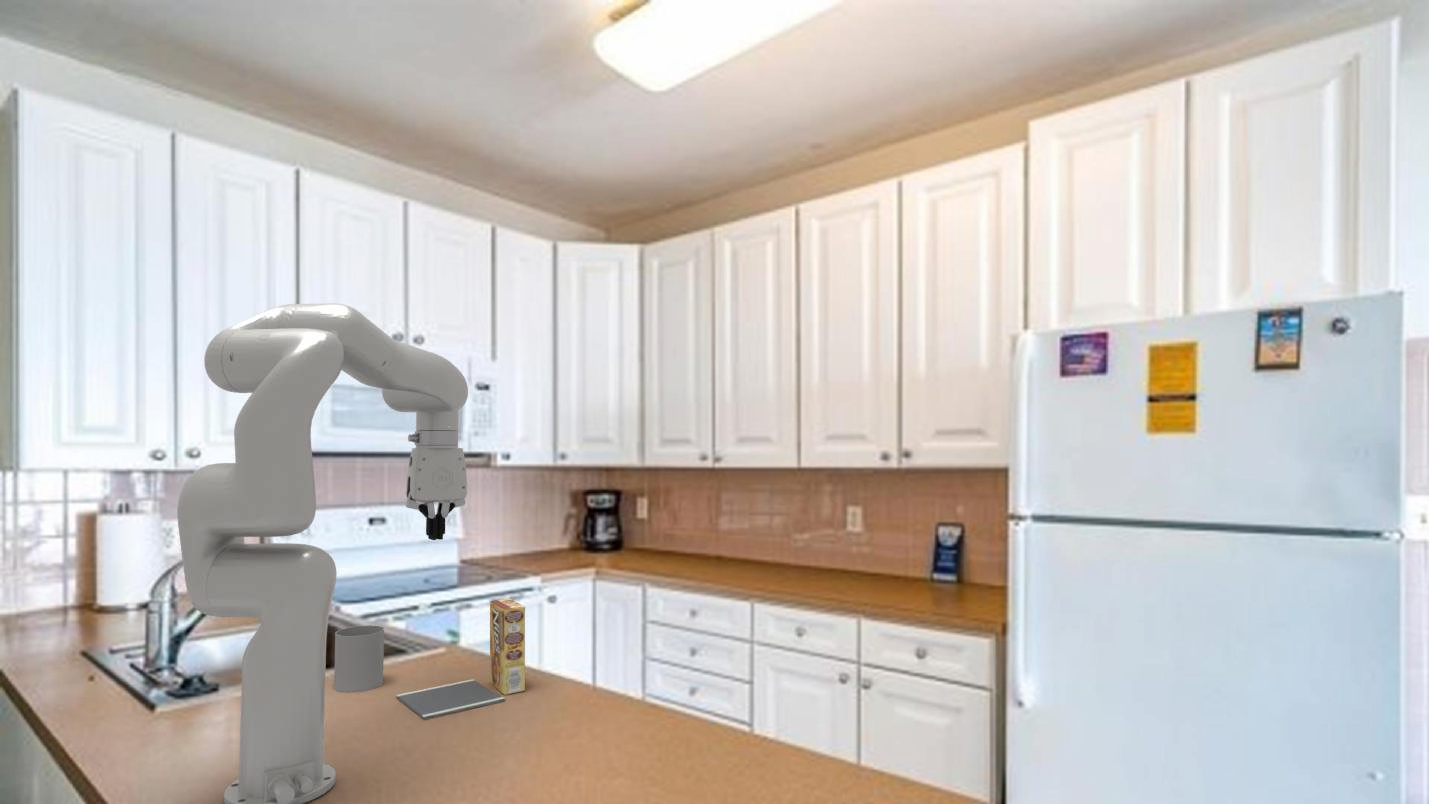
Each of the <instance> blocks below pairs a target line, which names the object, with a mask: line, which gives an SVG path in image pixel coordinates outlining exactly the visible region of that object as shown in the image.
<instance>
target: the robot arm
mask: <svg viewBox="0 0 1429 804" xmlns="http://www.w3.org/2000/svg"><path fill="white" fill-rule="evenodd" d="M203 362H204V368H205V372H206V375H207V376H208V378H209V379H210V381H211V382H212V383H214V385H215V386H217V387H218V388H219V389H221V390H223V391H227V392H229V393H235V394H236V393H238V394H250V396H249V397H248V398H247V400H246V401H245V402H244V404H243V406H242V407H241V409H240V411H239V413H238V415H237V417H236V420H235V424H234V428H233V432H234V433H233V438H234V439H233V440H234V457H235V459H234V460H235V461H234V462H219V463H213V464H207V465H204V466H202V467H200V468H198V469H197V470H195V471H194V472H193V473H191V474H190V475H189V477H188V478H187V479H186V480H185V482H184V484H183V485H182V488H181V491H180V493H179V498H178V500H177V501H178V502H177V526H178V536H179V541H180V544H179V545H180V552H181V559H182V566H183V573H184V574H183V575H184V581H185V587H186V591H187V595H188V598H189V601H190V602H191V604H192V605H193V607H194V608H195V610H197V611H198V612H199V613H201V614H203V615H206V616H210V617H217V618H248V619H249V618H252V619H259V620H261V623H260V625H259V626H258V629H257V630H256V632H255V633H254V634H253V636H252V637H251V638H250V640H249V641H248V643H247V644H246V647H245V650H244V652H243V656H242V661H241V692H240V693H241V696H240V697H241V699H240V728H239V734H240V735H239V758H238V759H239V761H238V762H239V763H238V778H237V779H236V780H235V781H233V782H232V783H231V784H229V785H228V786H227V787H226V789H225V790H224V792H223V804H306V803H308V802H311V801H313V800H316V799H317V798H319V797H321V796H323V795H324V794H326V793H327V792H328V791H329V790H331V788H333V787H334V786H335V783H336V781H337V778H336V777H337V776H336V775H337V772H336V770H335V768H334V767H332V766H331V765H329V764H326V763H324V742H325V741H324V740H325V709H326V708H325V707H326V706H325V705H326V700H325V699H326V671H327V670H326V669H327V668H326V665H327V662H326V659H327V658H326V656H327V633H328V624H329V617H330V613H331V607H332V602H333V597H334V593H335V589H336V583H337V574H338V573H337V566H336V563H335V561H334V559H333V557H332V556H331V554H329V553H328V552H327V551H326V550H324V549H322V548H320V547H318V546H314V545H310V544H306V543H304V544H303V543H291V542H289V543H288V542H287V543H286V542H285V543H283V542H282V543H281V542H279V543H276V542H274V543H273V542H268V543H266V542H265V543H245V538H275V537H276V538H278V537H280V538H281V537H290V536H293V535H298V534H300V533H302V532H304V531H306V530H307V529H309V528H310V526H311V525H312V523H313V522H314V520H315V517H316V512H317V511H316V510H317V493H316V482H315V481H316V480H315V471H314V460H313V452H312V451H313V450H312V438H311V435H312V434H311V433H312V432H311V431H312V430H311V429H312V422H313V419H314V416H315V413H316V411H317V409H318V406H319V404H320V402H321V401H322V399H323V398H324V396H325V395H326V393H328V391H329V389H330V388H331V387H332V385H333V384H334V383H335V382H336V380H337V379H338V378H339V376H340V374H341V372H344V373H345V374H347V375H349V376H350V377H352V378H353V379H355V380H356V381H357V382H359V383H361V384H362V385H365V386H369V387H371V388H376V389H377V388H378V389H381V394H382V399H383V400H384V402H385V404H386V405H387V406H388V407H389V408H390V409H392V410H394V411H396V412H400V413H416V414H415V416H416V418H415V431H414V433H412V434H408V435H407V441H408V442H411V443H413V444H414V446H415V448H414V447H413V448H411V452H410V455H409V462H408V466H407V473H406V474H407V475H406V487H405V488H406V490H405V493H406V498H407V499H406V503H405V507H406V508H407V509H412V510H416V511H419V512H420V514H422V516H423V517H424V518H426V519H425V521H426V522H425V533H426V536H427V538H428V539H429V540H432V541H436V540H443V539H444V535H445V534H446V519H447V518H448V516H449V514H450V513H451V512H452V511H453V510H454V509H455V508H456V509H457V508H459V507H463V506H465V505H466V498H467V495H468V477H467V465H466V458H465V453H464V448H463V447H459V415H460V414H459V413H460V412H459V411H460V409H462V408H463V407H464V406H465V404H466V402H467V400H468V396H469V387H468V383H467V380H466V377H465V376H464V374H463V373H462V372H461V371H460V369H459V368H458V367H457V366H456V365H454V364H453V363H452V362H451V361H450V360H449V359H447V358H445V357H443V356H442V355H439V354H436V353H434V352H431V351H428V350H425V349H422V348H419V347H416V346H413V345H410V344H408V343H404V342H401V341H398V340H394V339H393V338H392V337H391V336H390V335H388V334H387V333H386V332H384V331H383V330H382V329H381V328H379V326H377V325H376V324H375V323H373V322H372V321H371V320H370V319H368V318H367V317H366V316H365V315H364V314H362V313H361V312H360V311H358V309H356V308H354V307H352V306H349V305H347V304H343V303H342V304H341V303H335V302H334V303H331V302H327V303H290V304H288V303H287V304H282V305H278V306H275V307H272V308H269V309H267V310H264V311H263V312H260V313H257V314H256V315H253V316H251V317H249V318H247V319H245V320H243V321H241V322H238V323H236V324H233V325H232V326H229V327H227V328H225V329H223V330H221V331H220V332H219V333H217V334H216V335H215V336H214V337H213V338H212V339H211V341H210V342H209V343H208V345H207V347H206V350H205V353H204V361H203ZM436 502H437V509H436V511H435V503H436Z"/></svg>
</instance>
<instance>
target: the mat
mask: <svg viewBox="0 0 1429 804" xmlns="http://www.w3.org/2000/svg"><path fill="white" fill-rule="evenodd" d="M395 695H396V696H395V698H396V699H397V700H398V701H399V702H400V703H402V704H403V705H404V706H405V707H407V708H409V710H411V711H412V712H413V713H414V714H416V715H417V716H419V717H420V719H422V720H428V719H429V720H430V719H432V718H433V719H434V718H438V717H441V716H446V715H450V714H454V713H459V712H463V711H468V710H472V709H476V708H481V707H485V706H489V705H493V704H498V703H499V704H500V703H502V702H503V703H504V702H506V698H505V697H504V696H501V695H499V694H498V693H496V692H494V691H492V690H491V689H489V688H488V687H486V686H484V685H483V684H481V683H480V682H478V681H476V680H475V679H473V678H472V679H468V680H462V681H457V682H454V683H453V682H452V683H448V684H443V685H439V686H435V687H434V686H433V687H428V688H424V689H419V690H415V691H410V692H403V693H400V694H395Z"/></svg>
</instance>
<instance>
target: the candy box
mask: <svg viewBox="0 0 1429 804" xmlns="http://www.w3.org/2000/svg"><path fill="white" fill-rule="evenodd" d="M489 629H490V630H489V670H490V671H489V677H490V678H489V683H491V685H493V687H495V688H496V689H497V690H498V691H499V692H500V693H502V694H503V695H505V696H506V695H510V694H515V693H520V692H525V691H526V607H525V605H523V604H521V603H520V602H518V601H514V600H513V599H511V598H504V599H503V598H502V599H495V600H490V601H489Z"/></svg>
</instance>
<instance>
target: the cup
mask: <svg viewBox="0 0 1429 804" xmlns="http://www.w3.org/2000/svg"><path fill="white" fill-rule="evenodd" d="M334 637H335V638H334V668H333V669H334V671H333V673H334V675H333V676H334V677H333V690H334V691H335V692H338V693H346V694H347V693H349V694H350V693H360V692H366V691H370V690H375V689H376V688H379V687H381V686H382V685H384V663H385V662H384V661H385V659H384V658H385V656H384V654H385V651H384V650H385V628H384V626H380V625H370V624H369V625H357V626H356V625H355V626H349V627H345V628H341V629H339V630H337V631H335V635H334Z"/></svg>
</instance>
